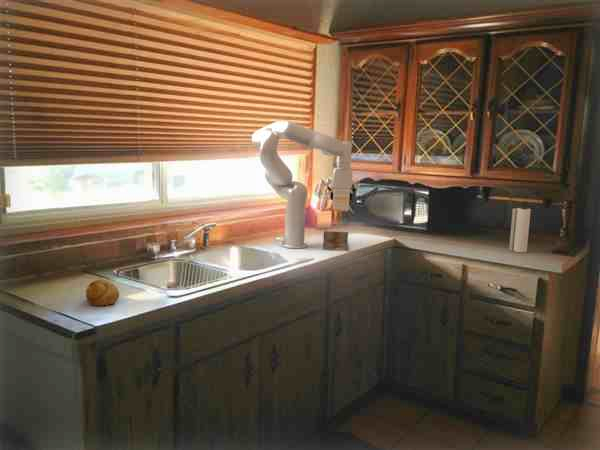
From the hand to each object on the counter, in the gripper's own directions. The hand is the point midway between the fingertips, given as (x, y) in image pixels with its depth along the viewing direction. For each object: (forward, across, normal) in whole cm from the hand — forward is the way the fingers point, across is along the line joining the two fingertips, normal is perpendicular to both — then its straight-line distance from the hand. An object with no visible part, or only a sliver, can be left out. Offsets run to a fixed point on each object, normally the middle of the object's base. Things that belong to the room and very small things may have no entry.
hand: (340, 200), depth 273 cm
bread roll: (+25, -78, -109) cm, 137 cm away
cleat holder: (+22, -2, -14) cm, 26 cm away
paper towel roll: (+20, +88, -9) cm, 91 cm away
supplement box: (+5, 0, 0) cm, 5 cm away
